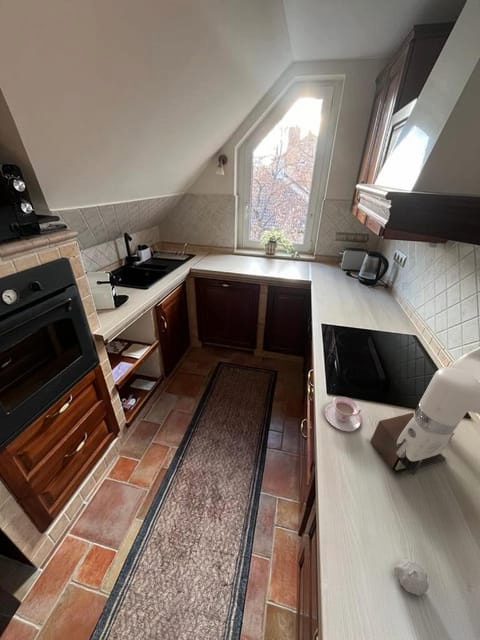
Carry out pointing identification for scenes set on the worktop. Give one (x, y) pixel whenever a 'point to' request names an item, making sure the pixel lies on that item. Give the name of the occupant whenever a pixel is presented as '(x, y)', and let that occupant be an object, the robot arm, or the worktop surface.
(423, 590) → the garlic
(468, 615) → the worktop surface
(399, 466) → the slide door
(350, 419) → the teacup
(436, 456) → the sideboard
